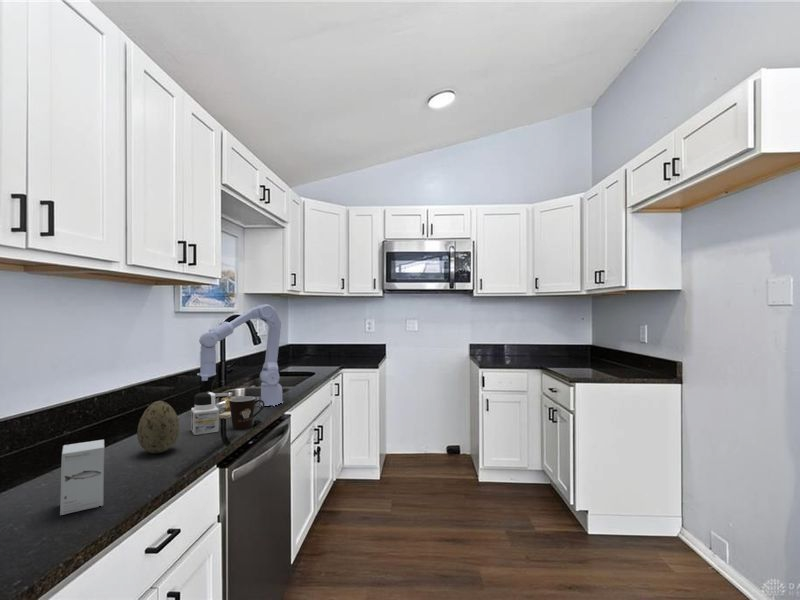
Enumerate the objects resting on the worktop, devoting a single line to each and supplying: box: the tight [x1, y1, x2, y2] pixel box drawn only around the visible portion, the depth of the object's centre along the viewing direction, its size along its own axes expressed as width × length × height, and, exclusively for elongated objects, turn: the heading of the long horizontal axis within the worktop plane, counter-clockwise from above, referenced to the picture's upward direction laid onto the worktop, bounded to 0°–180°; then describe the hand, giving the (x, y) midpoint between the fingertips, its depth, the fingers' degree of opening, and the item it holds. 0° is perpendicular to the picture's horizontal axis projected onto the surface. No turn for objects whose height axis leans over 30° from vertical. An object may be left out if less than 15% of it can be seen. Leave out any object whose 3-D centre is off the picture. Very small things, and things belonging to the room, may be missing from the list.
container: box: [190, 391, 220, 436], centre depth 145 cm, size 8×8×13 cm
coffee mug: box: [229, 396, 265, 431], centre depth 150 cm, size 12×9×10 cm
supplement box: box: [59, 439, 105, 516], centre depth 90 cm, size 7×7×13 cm
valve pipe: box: [215, 395, 243, 414], centre depth 170 cm, size 15×4×5 cm, turn 164°
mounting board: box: [219, 409, 231, 420], centre depth 170 cm, size 16×13×1 cm
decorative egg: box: [136, 400, 180, 454], centre depth 123 cm, size 11×11×15 cm
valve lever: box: [213, 391, 234, 397], centre depth 169 cm, size 13×2×1 cm, turn 104°
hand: (207, 395), depth 170 cm, fingers closed
